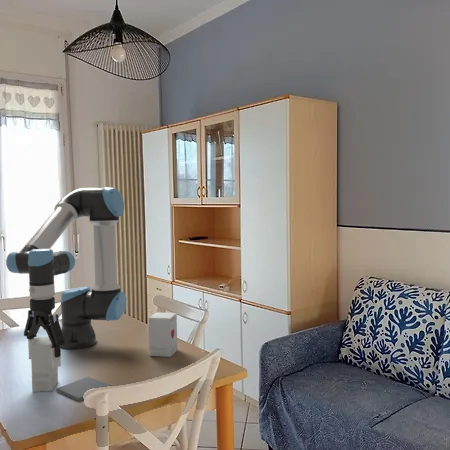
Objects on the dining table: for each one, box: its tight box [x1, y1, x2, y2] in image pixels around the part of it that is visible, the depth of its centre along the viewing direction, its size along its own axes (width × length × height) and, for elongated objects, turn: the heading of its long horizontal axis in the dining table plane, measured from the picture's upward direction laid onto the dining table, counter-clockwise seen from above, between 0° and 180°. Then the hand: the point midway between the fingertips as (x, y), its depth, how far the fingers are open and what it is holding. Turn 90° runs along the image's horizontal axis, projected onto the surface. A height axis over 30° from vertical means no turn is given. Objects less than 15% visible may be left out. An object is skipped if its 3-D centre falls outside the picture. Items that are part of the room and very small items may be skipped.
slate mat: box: [55, 376, 112, 402], centre depth 154 cm, size 12×12×1 cm
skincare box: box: [30, 336, 59, 393], centre depth 156 cm, size 8×7×16 cm
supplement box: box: [148, 312, 178, 358], centre depth 187 cm, size 9×9×15 cm
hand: (44, 362), depth 155 cm, fingers open, 13 cm apart
